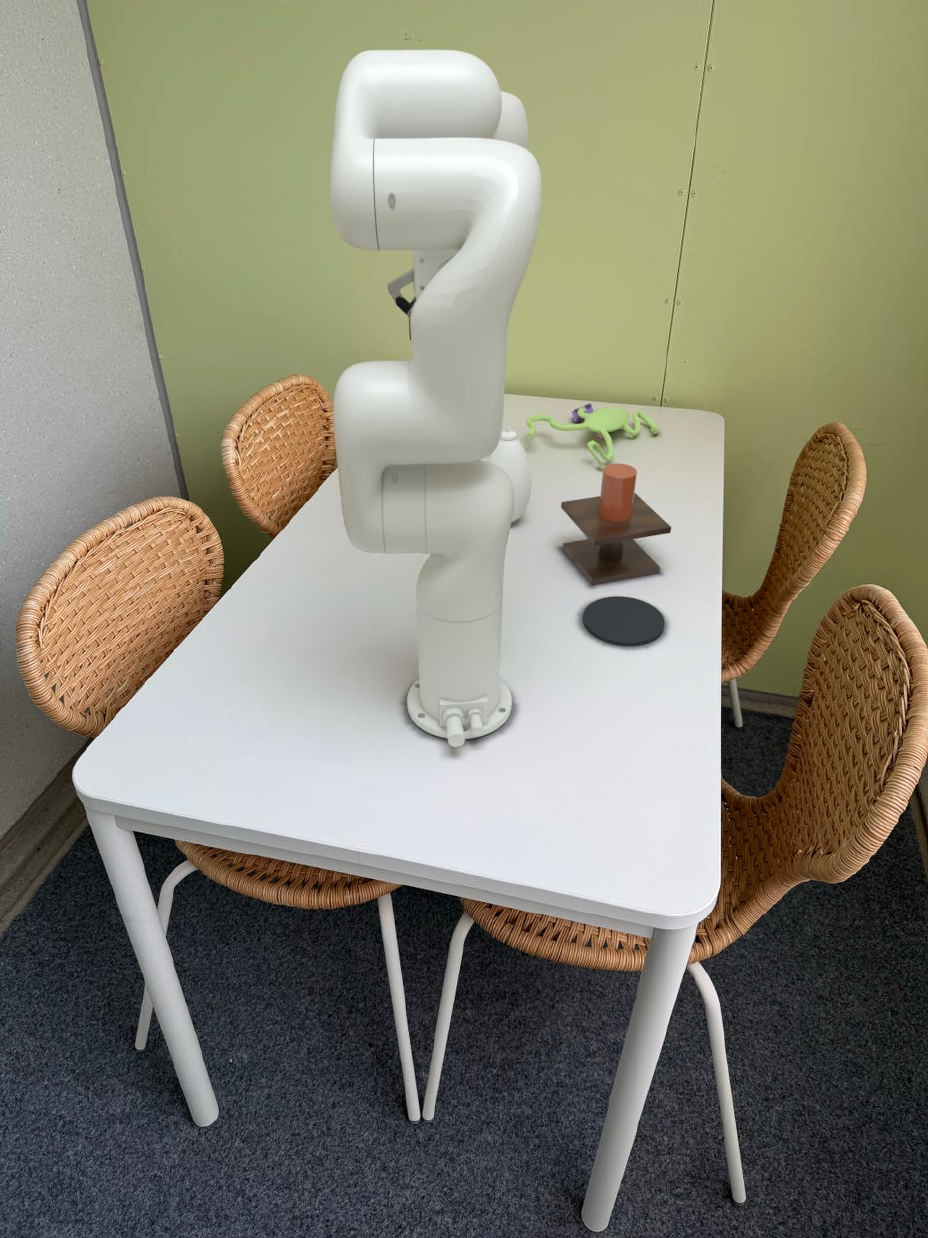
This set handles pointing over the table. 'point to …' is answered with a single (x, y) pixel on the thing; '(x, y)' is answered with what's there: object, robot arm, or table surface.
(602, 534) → the stand
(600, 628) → the coaster
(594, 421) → the figurine
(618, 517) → the canister
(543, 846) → the table surface
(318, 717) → the table surface
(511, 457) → the sauce bottle
